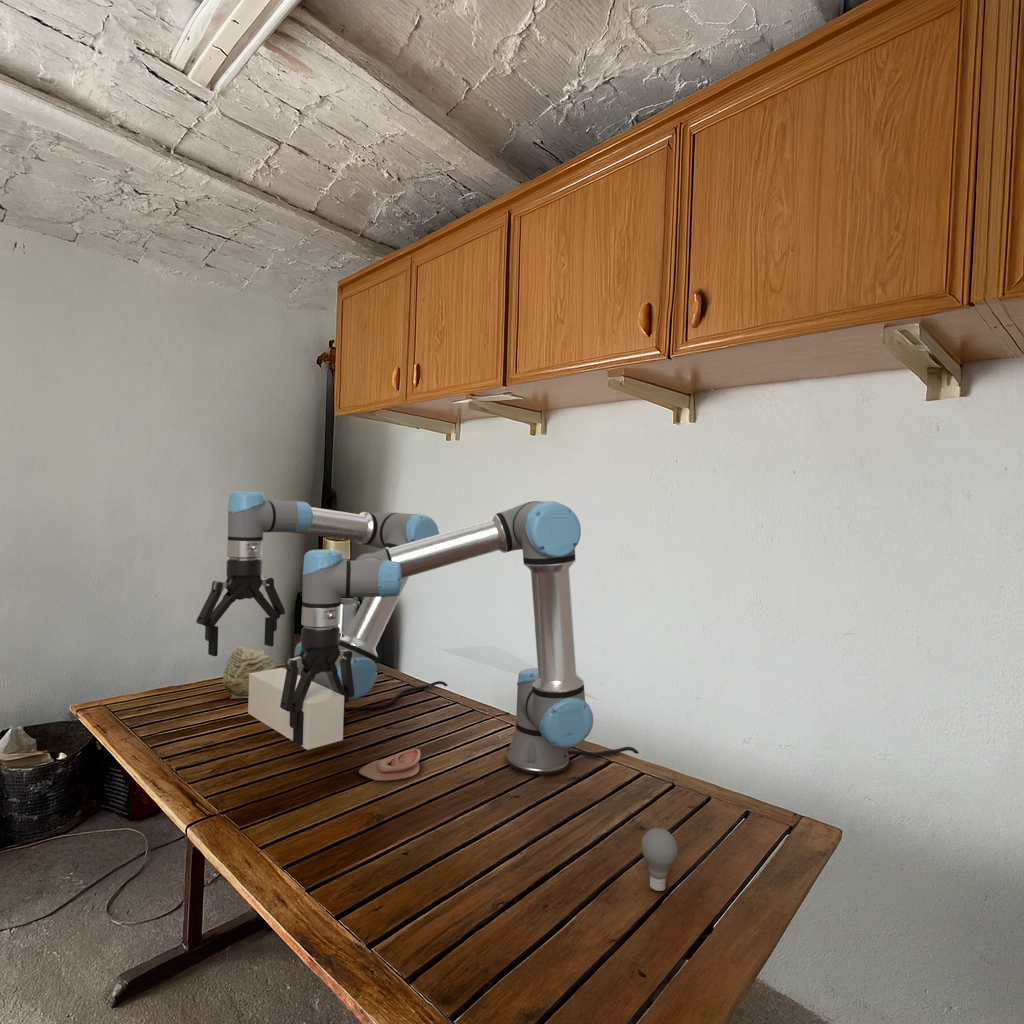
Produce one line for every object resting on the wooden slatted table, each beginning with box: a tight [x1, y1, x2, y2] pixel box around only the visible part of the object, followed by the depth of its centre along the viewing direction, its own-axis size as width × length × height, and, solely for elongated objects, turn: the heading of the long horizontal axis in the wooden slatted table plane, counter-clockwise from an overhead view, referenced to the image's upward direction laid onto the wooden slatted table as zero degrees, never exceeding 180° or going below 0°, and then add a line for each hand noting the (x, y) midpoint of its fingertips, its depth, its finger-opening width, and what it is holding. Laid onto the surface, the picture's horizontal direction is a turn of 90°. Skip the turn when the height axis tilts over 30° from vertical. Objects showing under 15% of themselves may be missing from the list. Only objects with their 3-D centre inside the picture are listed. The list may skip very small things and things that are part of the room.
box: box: [247, 667, 345, 751], centre depth 136 cm, size 27×8×9 cm, turn 46°
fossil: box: [222, 646, 278, 699], centre depth 198 cm, size 9×18×15 cm, turn 132°
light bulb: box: [640, 827, 679, 892], centre depth 106 cm, size 6×6×10 cm
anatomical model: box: [358, 748, 422, 782], centre depth 147 cm, size 13×4×12 cm
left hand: (241, 650), depth 146 cm, fingers open, 13 cm apart
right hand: (317, 737), depth 129 cm, fingers closed on box, 8 cm apart
